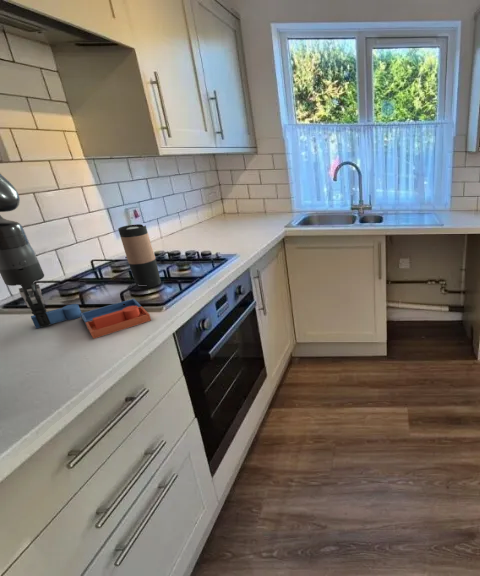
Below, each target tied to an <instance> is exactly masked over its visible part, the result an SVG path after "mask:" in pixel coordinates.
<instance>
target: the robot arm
mask: <svg viewBox="0 0 480 576" xmlns="http://www.w3.org/2000/svg"><path fill="white" fill-rule="evenodd" d="M20 198H21V197H20V195H19V192H18V190H17V189H16V187H15V186H14V185H13V184H12V183H11V181H10V180H8V179H7V178H6V177H5V176H4V175H2V174H1V173H0V213H7V212H12V211H15V210H16V209H18V207H19V206H20V203H21V200H20ZM35 252H36V251H35V250H34V248H33V247H32V245H31V244H30V242H29V239H28V236H27V234H26V231H25V229H24V228H23V226H22V224H21V223H20V222H19V221H16V220H15V221H14V220H10V219H7V218H4V217H3V216H1V214H0V276H1V278H2V280H3V282H4V284H5V285H6V286H10V287H11V286H13V287H14V286H20V287H19V288H18V292H19V294H20V297H21V298H22V299H23V300H24V302H25V305H26V306H27V308H30V310H31V314H32V315H35V317H36V319H37V321H38V323H39V325H40V328H44V327H47V326H50V325H52V324H51V323H50V320H49V318H48V316H47V314H46V312H47V308H46V305H45V303H46V302H45V300H44V296H43V294H42V290H41V289H42V288H41V287H40V284H35V282H38V281H40V280H42V279H43V278H45V273H44V271H43V269H42V266H41V264H40V261H39V259H38V256H37V254H36V253H35Z"/></svg>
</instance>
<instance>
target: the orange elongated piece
mask: <svg viewBox="0 0 480 576" xmlns="http://www.w3.org/2000/svg"><path fill="white" fill-rule="evenodd" d="M140 316H141V315H140V312H139V309H138V307H137V306H129V307H126V308H124V309H122V310H120V311H116V312H113V313H109V314H106V315H102V316H99V317H95V318H92V319H93V322H94V324H95V327H96V329H101V328H104V327H107V326H110V325H114V324H117V323H120V322H123V321H127V320H130V319H133V318H137V317H140Z"/></svg>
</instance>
